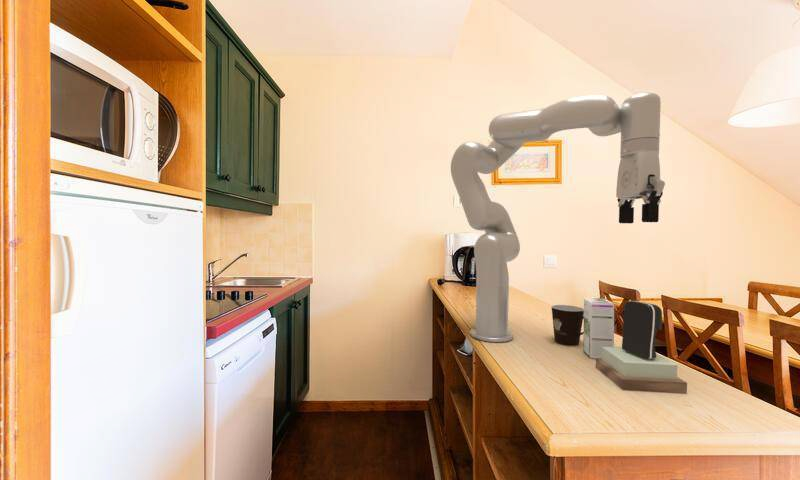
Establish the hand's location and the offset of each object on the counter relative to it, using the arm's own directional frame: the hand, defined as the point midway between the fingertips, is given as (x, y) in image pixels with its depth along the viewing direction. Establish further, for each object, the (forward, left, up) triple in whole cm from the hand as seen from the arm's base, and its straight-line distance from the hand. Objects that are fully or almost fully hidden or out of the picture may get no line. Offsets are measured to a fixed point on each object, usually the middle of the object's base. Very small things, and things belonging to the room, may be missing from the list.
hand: (637, 222), depth 82 cm
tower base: (+7, -3, -35) cm, 36 cm away
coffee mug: (-16, -9, -34) cm, 39 cm away
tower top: (+7, -3, -32) cm, 33 cm away
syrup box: (-7, -5, -34) cm, 36 cm away
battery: (+7, -2, -29) cm, 30 cm away
